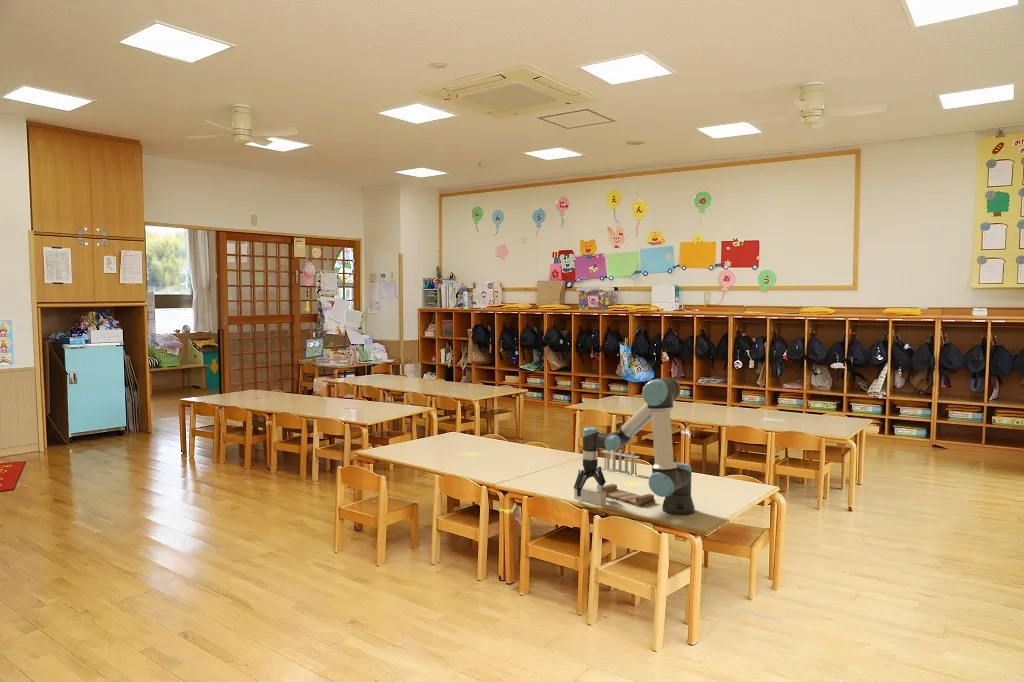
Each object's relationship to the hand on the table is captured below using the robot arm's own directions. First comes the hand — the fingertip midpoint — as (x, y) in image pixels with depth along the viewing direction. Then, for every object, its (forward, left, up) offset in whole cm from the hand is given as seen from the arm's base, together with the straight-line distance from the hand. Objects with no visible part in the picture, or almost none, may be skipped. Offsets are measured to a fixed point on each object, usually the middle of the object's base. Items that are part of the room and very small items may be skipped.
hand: (589, 500), depth 357 cm
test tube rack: (+32, -57, -1) cm, 65 cm away
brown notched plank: (-8, -18, 0) cm, 20 cm away
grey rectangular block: (0, 0, -1) cm, 1 cm away
